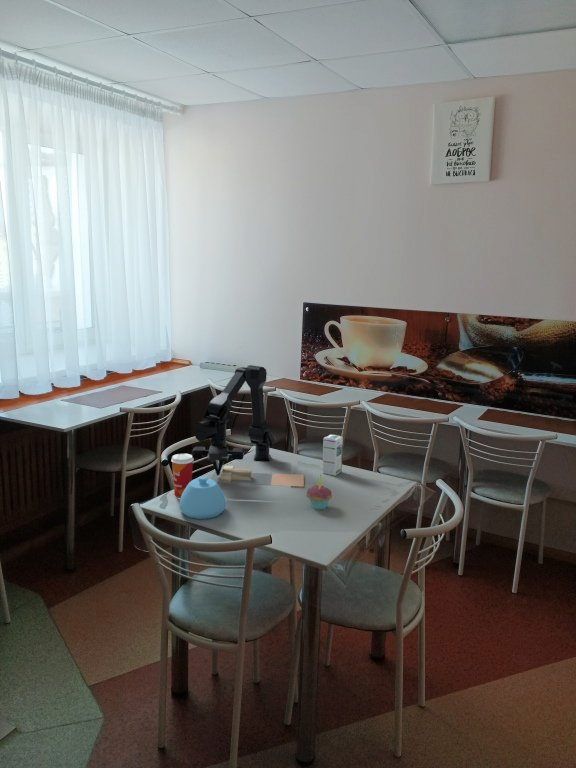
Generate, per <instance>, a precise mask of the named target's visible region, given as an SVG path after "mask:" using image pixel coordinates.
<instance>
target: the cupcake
mask: <svg viewBox="0 0 576 768" xmlns="http://www.w3.org/2000/svg"><path fill="white" fill-rule="evenodd" d="M321 482H322V476H321V474H319V476H318V485H313V486H311V487H310V488H308V489H307V491H306V497H307V498H308V499H309V500H310V503H311V508H313V509H315V510H324V509H326V508H327V506H328V503H329V502H330V501H329V500H331V499H332V497H333V495H332V490H331V489H330V488H328V487H326V486H324V485H322V483H321Z"/></svg>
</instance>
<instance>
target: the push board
mask: <svg viewBox="0 0 576 768" xmlns="http://www.w3.org/2000/svg"><path fill="white" fill-rule="evenodd" d="M213 472H214V473H213V475H212V477H211V480H214V481H215V482H216V483H217V484H224V485H251V486H252V485H255V486H278V487H279V486H280V487H281V486H283V487H285V486H286V487H287V486H288V487H290V488H304V487H305V485H304V484H305V483H304V482H305V479H304V478H305V475H304V474H296V473H295V474H292V473H291V474H289V473H288V474H287V473H266V472H264V473H262V472H261V473H259V472H251V480H231V483H224V482H221V473H222V471H220V474H219V475H217V474H216V471H213Z"/></svg>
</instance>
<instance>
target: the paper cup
mask: <svg viewBox="0 0 576 768" xmlns="http://www.w3.org/2000/svg"><path fill="white" fill-rule="evenodd" d="M194 459H195V458H193V457H192V454H189V453H177V454H174V455H172V456H171V460H170V461H171V462H172V463H171V464H172V465H171V466H172V481H173V493H174V495H175V496H176V497H177V498H178V499H181V495H182V493H183V491H184V490H185V488H186V487H187V485H188V484H189V483H190V482H191V481H193V465H194V464H193V463H194V461H195V460H194Z"/></svg>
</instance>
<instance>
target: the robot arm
mask: <svg viewBox="0 0 576 768" xmlns="http://www.w3.org/2000/svg"><path fill="white" fill-rule="evenodd" d="M267 374H268V373H267V369H266V368H265V367H264V366H259V365H254V364H253V365H252V364H249V365H247V366H246V367H237V368H236V369H235V371H234V374H233V376H232V377H231V379H230V380H229V381H228V382H227V384H226V386H225V387H224V389H222V391H221V393H220V394H218V395H216V396H215V397H213V398H212V399H211V400H210V401H209V403H208V404H207V407H206V409H205V411H204V415H203V416H202V419H201V420H202V421H199V422H198V425H197V426H196V427H195V428H194V430H193V431H194V432H193V433H194V434H193V435H194V437H195V439H196V440H197V441H199V442H204V441H207V440H210V444H209V447H208V449H206V447H205V446H195V447H193V449H192V451H191V455H192V457H193V459H202V457H203V456H207V461H210V463H212V465H213V468H214V470H215V471H214V472H216V474H217V475H219V474H220V472H222V469H223V468H222V467H223V466H224V463H225V462H227V461H228V460H229V457H230V456H231V458H232V459H233V460H234V461H235V460H236V461H237V460H241V461H242V460H243V459H244V457H245V449H244V448H243V447H233V449H232V450H229V446H227V422H229V421H230V418H229V417H228V416H229V414H230V412H231V410H232V408H233V407H232V403H233V400H234V399H235V398H236V395H238V394H239V391H240V390H241V388H243V385H244V384H246V385H247V386H248V387H249V392H250V402H251V403H250V404H251V413H252V414H251V418H252V423H251V424H250V426H248V428H247V430H248V437H249V441H250V444H254V445H255V452H254V453H255V454H254V457H253V460H254V461H262V462H264V461H265V462H266V461H267V462H270V461H271V456H272V455H271V454H270V447H274V445H275V442H276V439H275V438H274V436H273V435H272V433H271V429H270V426H269V424H268V423H267V421H266V417H265V416H266V414H265V413H266V412H265V402H264V401H265V399H264V386H265V384H266V382H267ZM245 382H246V383H245Z"/></svg>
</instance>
